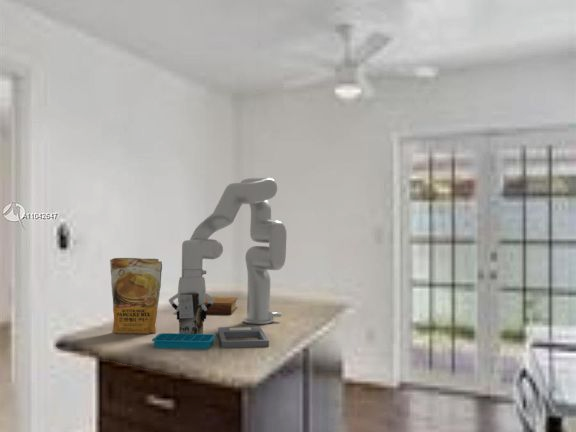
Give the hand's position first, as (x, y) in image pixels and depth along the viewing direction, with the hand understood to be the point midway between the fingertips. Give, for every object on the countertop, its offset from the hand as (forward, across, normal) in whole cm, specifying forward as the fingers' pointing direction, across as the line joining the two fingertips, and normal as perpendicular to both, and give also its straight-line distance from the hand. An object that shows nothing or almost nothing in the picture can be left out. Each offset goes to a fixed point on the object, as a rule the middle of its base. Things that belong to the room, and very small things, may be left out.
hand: (191, 321), depth 215 cm
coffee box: (+6, 0, 0) cm, 6 cm away
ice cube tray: (+6, +2, +14) cm, 15 cm away
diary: (+6, -9, -54) cm, 55 cm away
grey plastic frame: (+5, -18, +7) cm, 20 cm away
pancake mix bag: (+6, +21, -9) cm, 24 cm away
